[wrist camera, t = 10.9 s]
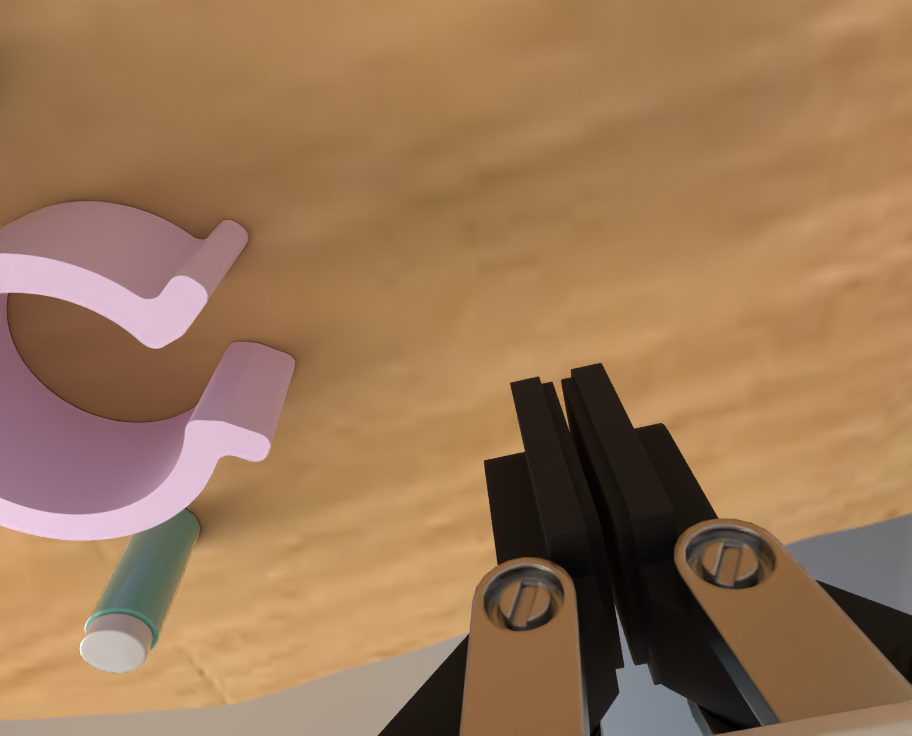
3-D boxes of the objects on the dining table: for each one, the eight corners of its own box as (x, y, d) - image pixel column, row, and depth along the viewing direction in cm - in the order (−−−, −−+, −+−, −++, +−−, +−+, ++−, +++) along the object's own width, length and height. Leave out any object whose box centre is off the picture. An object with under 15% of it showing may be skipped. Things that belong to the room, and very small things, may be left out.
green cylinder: (187, 498, 36) (132, 621, 29) (209, 541, 37) (162, 669, 30) (129, 510, 36) (60, 635, 29) (154, 553, 37) (94, 682, 30)
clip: (-61, 493, 34) (-161, 596, 28) (-228, 270, 29) (-398, 340, 22) (313, 411, 34) (293, 499, 28) (222, 165, 28) (171, 208, 22)
